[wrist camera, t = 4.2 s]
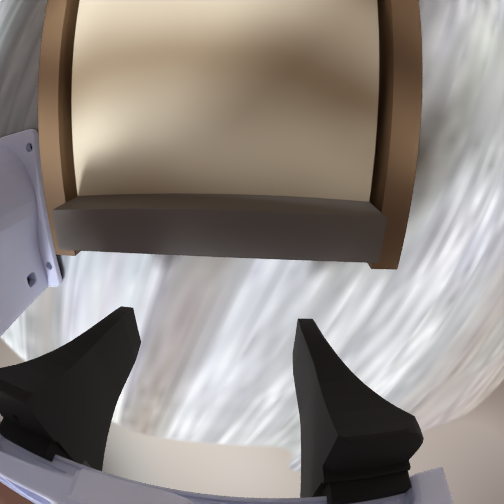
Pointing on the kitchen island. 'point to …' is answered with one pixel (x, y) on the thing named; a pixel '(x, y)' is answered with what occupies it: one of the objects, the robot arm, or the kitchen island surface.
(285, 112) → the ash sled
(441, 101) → the kitchen island surface
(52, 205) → the walnut track
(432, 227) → the kitchen island surface
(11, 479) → the robot arm
